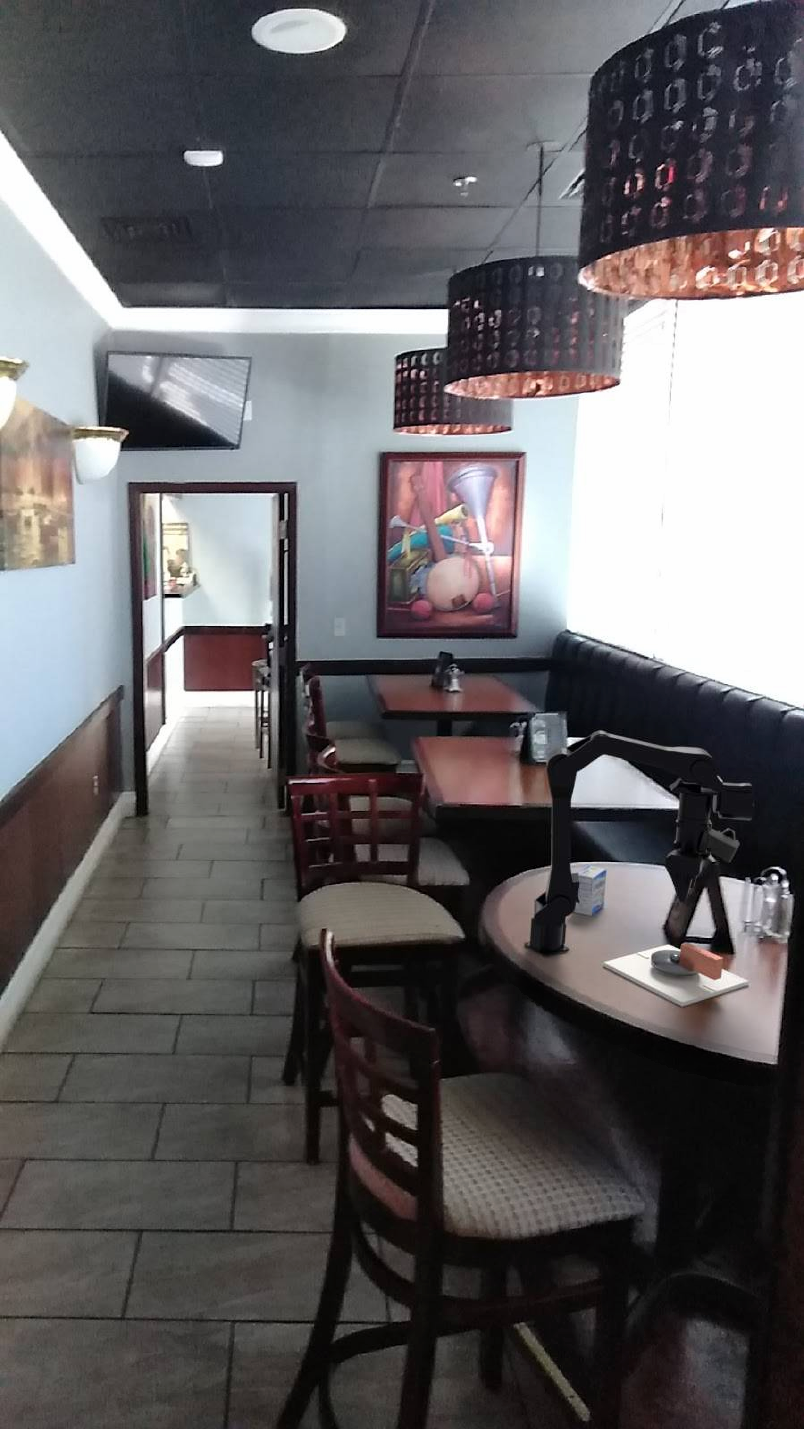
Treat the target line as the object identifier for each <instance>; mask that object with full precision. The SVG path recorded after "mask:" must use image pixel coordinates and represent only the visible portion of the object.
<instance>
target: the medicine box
mask: <svg viewBox="0 0 804 1429" xmlns="http://www.w3.org/2000/svg"><path fill="white" fill-rule="evenodd" d="M577 873H578V874H579V882H580V884H579V890H578V892H579V900H580V903H577V902H576V908H575V910H574V912H573V913H575V914H579V915H585V916H588V917H592V916H594V915H595V914H596V913H597V912H598V911H599V910H600V909H602V908H603V907H604V906H605V895H606V893H605V892H606V883H607V882H606V881H607V869H605V868H602V867H598V866H590V865H588V866H587V867H585V868H584V869H582V870H581V871H579V872H577Z"/></svg>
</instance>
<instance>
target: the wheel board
mask: <svg viewBox="0 0 804 1429" xmlns="http://www.w3.org/2000/svg"><path fill="white" fill-rule="evenodd" d="M661 950H675V951H680V950H681V948H680V949H679V948H677V947H675V946H674V945H670V944H664V945H661V946H658V947H654V948H650V949H647V950H643V951H640V952H635V953H631V954H629V955H625V956H621V957H618V958H613V959H610V960H607V961H603V967H604V968H606V969H609V970H610V971H612V972H614V973H616V974H618V975H620V976H622V977H624V978H626V979H627V980H629V981H631V982H633V983H636V984H638V985H640V986H641V987H643V988H645V989H647V990H649V991H650V992H653V993H655V994H657V995H659V996H660V997H662V998H665V999H667V1000H668V1001H670V1002H672V1003H674V1004H676V1005H679V1007H681V1008H682V1007H685V1006H688V1005H692V1004H694V1003H695V1004H696V1003H697V1002H701V1001H703V1000H704V1001H705V1000H706V999H710V998H713V997H716V996H719V995H722V994H725V993H729V992H731V991H735V990H737V989H741V988H744V987H746V986H748V985H749V980H748V979H745V978H743V977H741V976H738V975H736V974H734V973H732V972H730V971H727V970H726V969H723V968H722V974H721V978H720V979H717V980H713V979H711V978H708V977H706V976H704V975H702V974H700V973H698V974H696V975H693V976H675V975H670V974H666V973H663V972H661V971H659V970H657V969H655V968H654V967H653V966H652V965H651V955H652V954H653V953H654V952H656V951H661Z"/></svg>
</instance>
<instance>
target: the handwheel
mask: <svg viewBox="0 0 804 1429" xmlns="http://www.w3.org/2000/svg"><path fill="white" fill-rule="evenodd" d="M723 961H724V957H721V956H719V955H717V954H714V953H712V952H710V951H708V950H706V949H704V948H701V947H698V946H697V945H695V944H692V943H690V942H684V943H681V945H680V951H675V950H661V951H656V952H654V953H653V954H652V955H651V965H652V966H653V967H654V968H655V969H657V970H659V971H661V972H663V973H666V974H670V975H675V976H693V975H696V974H698V973H700V974H702V975H704V976H706V977H708V978H711V979H713V980H717V979H720V978H721V974H722V969H723V963H724V962H723Z"/></svg>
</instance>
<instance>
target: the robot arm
mask: <svg viewBox="0 0 804 1429" xmlns="http://www.w3.org/2000/svg"><path fill="white" fill-rule="evenodd" d="M604 755H605V756H609V757H613V758H618V759H622V760H626V761H629V762H634V763H639V764H643V765H646V766H651V767H654V768H655V767H656V768H660V769H663V770H665V771H667V772H669V773H672V774H673V775H676V776H678V777H679V778H677V780H676V781H675V782H673V783H672V784H670V785H669V788H670V791H671V792H672V793H674V794H675V793H676V794H679V800H678V802H679V803H678V813H677V819H676V820H675V823H674V824H675V826H674V827H675V828H676V835H675V840H674V842H673V849H674V850H672V851H670V852H669V853H668V854H667V856H666V858H665V861H664V862H665V863H664V868H665V869H666V872H668V875H669V877H670V880H671V883H672V885H673V888H674V891H675V893H676V897H677V899H678V902H679V903H682V904H683V903H684V904H685V903H686V902H687V899H688V895H689V891H690V889H693V888H694V886H695V884H696V880H697V878H698V877H699V876H700V875H701V874H702V870H703V865H704V861H705V860H707V858H709V857H710V856H711V854H713V855H715V856H717V857H719V858H721V859H722V861H724V862H727V863H731V861H732V859H733V857H735V854H736V852H737V850H738V848H739V847H740V845H741V843H740V842H739V840H738V839H736V831H735V830H733V829H731V828H729V827H728V828H726V829H725V830H723V831H722V832H721V831H720V830H715V829H713V828H712V827H713V822H711V821H712V820H710V818H711V809H712V812H713V813H717V814H718V815H717V816H718V818H719V819H729V820H744V821H751V820H752V819H753V817H754V813H755V804H754V792H753V790H754V786H753V785H752V784H751V783H749V782H743V783H733V782H724V781H723V780H722V779H721V777H720V776H719V775H717V764H716V761H715V760H714V758H713V757H712V755H711V754H709V753H708V751H707V750H705V749H703V748H701V747H690V746H674V747H673V746H663V745H659V744H654V743H650V742H646V741H642V740H638V739H634V738H630V737H625V736H621V735H616V734H612V733H608V732H606V731H604V730H597V731H594V732H593V733H592V734H589V735H588V736H586V737H585V738H582V739H580V740H578V741H576V742H573V743H571V744H570V745H568V746H565V747H558V748H557V747H556V748H554V749H552V750H551V751H550V752H549V753H548V755H547V756H546V774H547V780H548V785H549V790H550V795H551V796H550V797H551V863H550V864H551V865H550V869H549V873H548V876H547V877H548V878H547V882H546V888H545V891H544V892H543V893H542V894H540V895H539V896H538V897H537V898H534V901H533V902H534V907H533V909H534V912H533V914H534V916H533V917H531V919H530V932H529V933H530V935H529V941H525V942H523V946H525V947H527V948H528V949H531V950H532V951H533V952H536V953H538V955H539V954H540V955H541V956H542V957H549V956H553V955H558V954H561V953H565V952H568V951H570V947H569V946H567V945H565V944H566V934H567V924H566V920H567V919H566V918H567V917H569V916H570V915H572V914H574V913H575V912H574V910H575V908H576V902H577V903H580V900H579V892H578V890H579V884H580V882H579V874H578V873H579V872H574V873H572V869H571V841H572V840H571V838H572V837H571V834H572V833H571V832H572V830H571V829H572V825H571V824H572V821H571V820H572V797H573V794H574V789H575V784H576V781H577V775H578V772H580V771H581V770H583V769H585V768H586V767H588V766H589V765H590V764H592V763H594V761H596V760H597V759H598V758H600V757H602V756H604ZM683 779H685V780H686V781H689V782H684V781H683ZM701 785H705V786H706V787H707V788H705V787H701ZM712 796H713V797H712ZM711 807H712V808H711Z"/></svg>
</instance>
